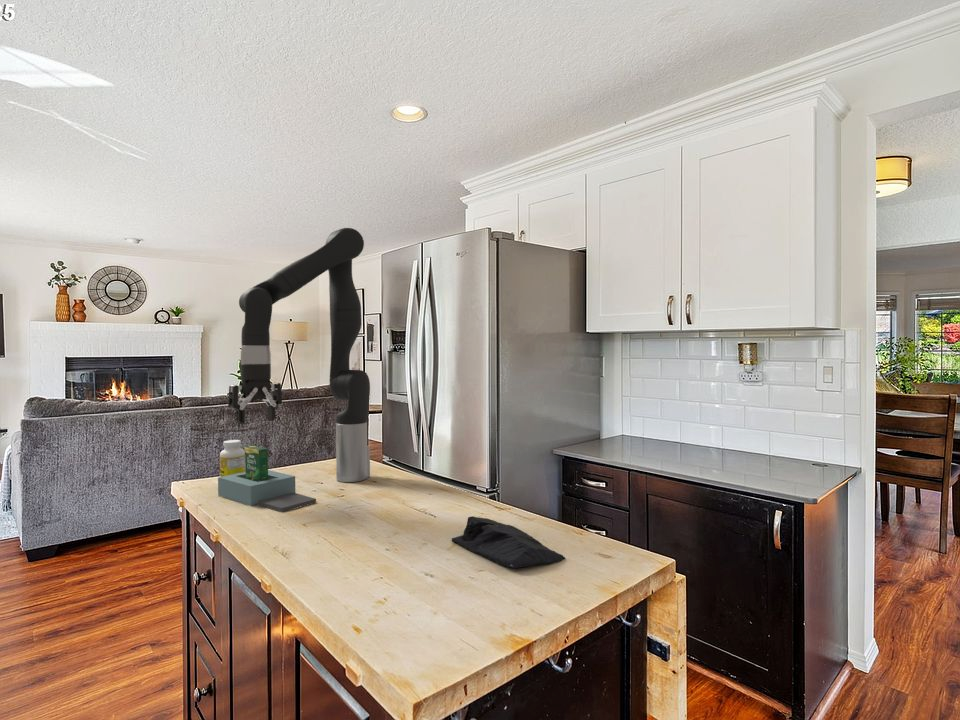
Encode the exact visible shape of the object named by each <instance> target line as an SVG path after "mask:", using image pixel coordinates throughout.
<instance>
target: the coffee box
mask: <svg viewBox="0 0 960 720" xmlns="http://www.w3.org/2000/svg"><path fill="white" fill-rule="evenodd" d="M268 450H269V449H268V448H267V447H260V446H257V445H251V446H245V447H244V452H245V472H246V479H248V480H252V481H256V482H260V481H265V480H268V470H269V452H268Z"/></svg>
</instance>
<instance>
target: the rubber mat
mask: <svg viewBox="0 0 960 720" xmlns="http://www.w3.org/2000/svg"><path fill="white" fill-rule="evenodd" d="M314 502H316V503H317V498H315V497H310V496H306V495H303V494H301V493H296V492H295V493H289V494H285V495H281V496H277V497H273V498H269V499H266V500H262V501H258V504H257V505H258V506H259V507H260V506H261V507H263V508H266V509H270V510H272V511H273V510H274V511H276V512H279V513H284V512H287V510H288V511H291V510H294V508H295V509H298V508H301V507H300V506H302V507H305V506H304V505H306V506H308V505H307V504H309V505H311V504H310V503H313V504H315V503H314ZM297 507H298V508H297ZM290 509H291V510H290Z"/></svg>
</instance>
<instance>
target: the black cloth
mask: <svg viewBox="0 0 960 720" xmlns="http://www.w3.org/2000/svg"><path fill="white" fill-rule="evenodd" d="M451 542H453V543H454V544H458V545H460V546H461V547H463V548H464V549H465V548H466V550H468V551H469V552H470V553H471V552H472V553H474V554H477V555H480V556H483V557H484V558H485V559H488V560H490V561H493V562H494V563H496V564H498V565H500V566H504V567H505V568H507V567H508V568H510V569H520V568H524V567H530V566H537V565H538V566H540V565H547V564H548V565H549V564H553V563H554V564H555V563H559V562H560V561H561V562H562V561H563V560H565V559H566V557H565V556H564V555H563V554H561V553H558V552H556V551H554V550H551V549H550V548H549V547H547V546H546V545H543V544H542V543H541V542H540V541H539V540H537V539H535V538H534V537H533V536H532V535H529V534H528V533H527V532H524V531H523V530H521V529H520V528H517V527H515V526H514V525H511V524H505V523H502V522H499V521H496V520H494V519H490V518H483V517H477V516H468V517H467V519H466V526H465V528H464V531H463V534H462V535H458V536H456V537H452V538H451Z"/></svg>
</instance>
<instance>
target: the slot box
mask: <svg viewBox="0 0 960 720" xmlns="http://www.w3.org/2000/svg"><path fill="white" fill-rule="evenodd" d="M217 490H218V491H217V496H218V497H221V498H224V499H228V500H230V501H232V502H236V503H239V504H240V503H241V504H244V505H246V504H247V506H249V505H250V507H252V506H256V505H259V504H258V501H262V500H266V499H269V498H273V497H277V496H281V495H285V494H289V493H296V476H295V475H292V474H287V473H282V472H279V471H276V470H275V471H274V470H271V469H268V480H265V481H260V482H256V481H252V480H248V479H246V471H245V472H242V473H237V474H232V475H227V476H222V477H220V476H218V477H217Z"/></svg>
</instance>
